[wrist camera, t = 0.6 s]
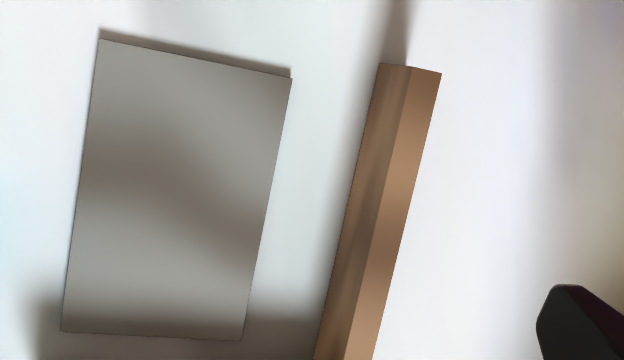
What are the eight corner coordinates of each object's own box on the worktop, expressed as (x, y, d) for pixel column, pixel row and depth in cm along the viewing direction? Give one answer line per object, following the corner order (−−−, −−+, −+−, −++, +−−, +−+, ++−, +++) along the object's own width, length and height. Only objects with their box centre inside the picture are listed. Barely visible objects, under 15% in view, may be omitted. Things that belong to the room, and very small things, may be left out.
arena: (329, 396, 26) (351, 439, 23) (37, 391, 22) (23, 442, 19) (405, 68, 23) (442, 73, 21) (89, -3, 20) (81, -10, 17)
